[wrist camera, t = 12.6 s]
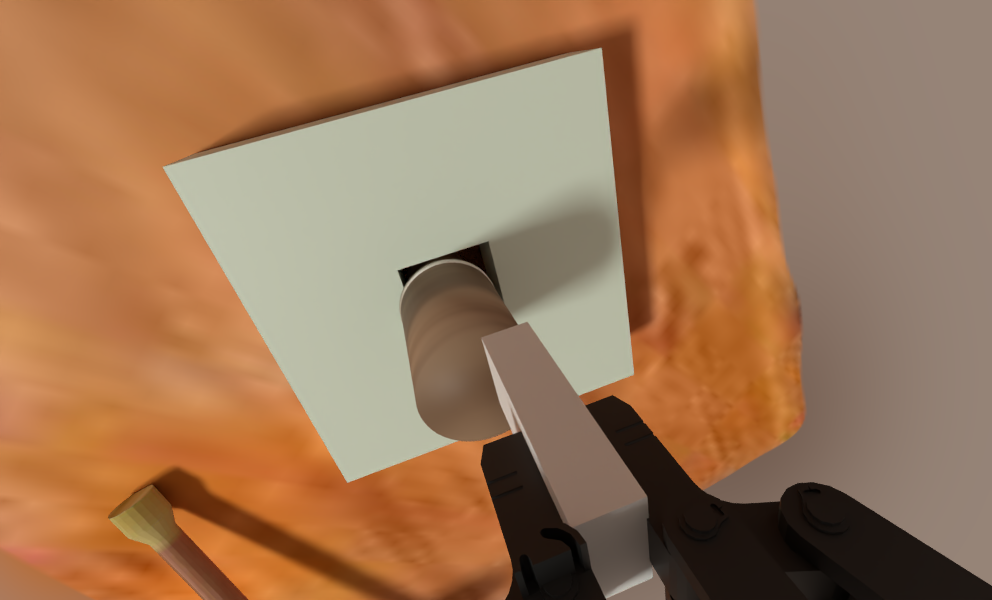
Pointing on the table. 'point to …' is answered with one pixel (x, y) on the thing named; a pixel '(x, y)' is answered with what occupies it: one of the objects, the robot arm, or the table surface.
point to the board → (420, 238)
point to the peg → (453, 346)
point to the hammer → (172, 543)
